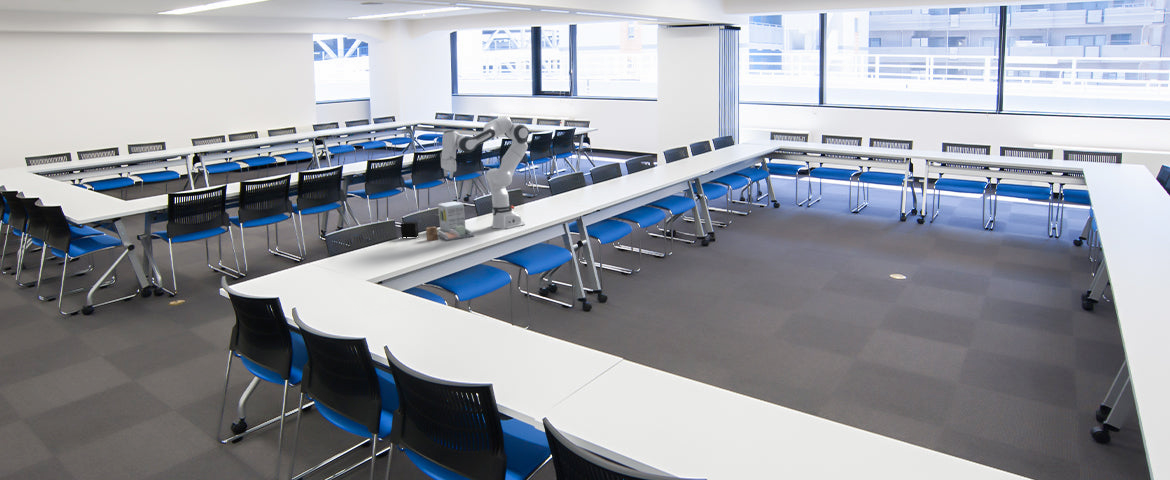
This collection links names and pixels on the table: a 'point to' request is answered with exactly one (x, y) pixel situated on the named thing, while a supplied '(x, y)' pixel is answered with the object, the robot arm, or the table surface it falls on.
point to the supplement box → (451, 215)
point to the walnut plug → (431, 233)
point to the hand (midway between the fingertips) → (448, 177)
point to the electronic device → (409, 229)
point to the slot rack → (455, 234)
